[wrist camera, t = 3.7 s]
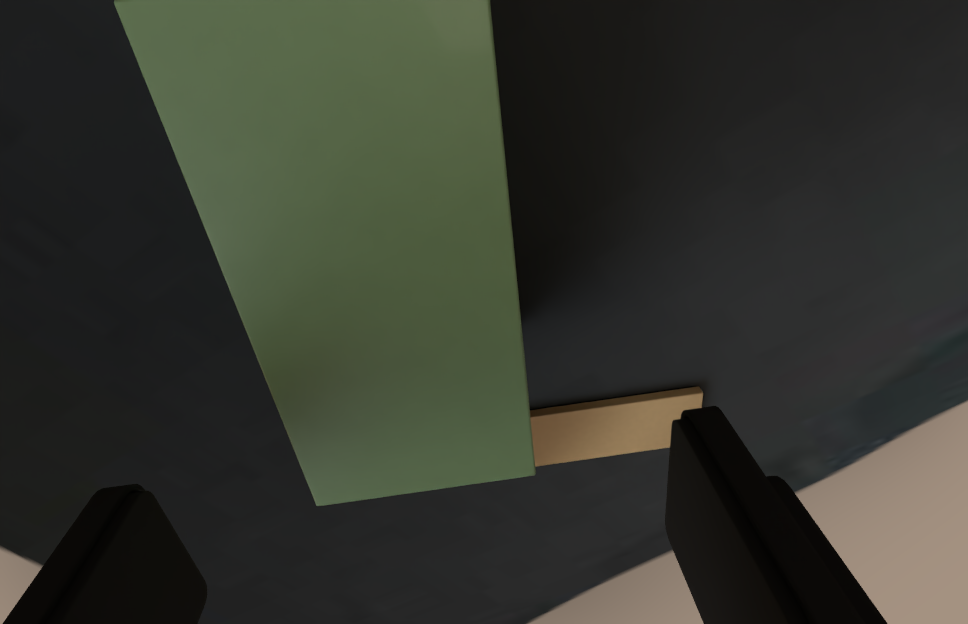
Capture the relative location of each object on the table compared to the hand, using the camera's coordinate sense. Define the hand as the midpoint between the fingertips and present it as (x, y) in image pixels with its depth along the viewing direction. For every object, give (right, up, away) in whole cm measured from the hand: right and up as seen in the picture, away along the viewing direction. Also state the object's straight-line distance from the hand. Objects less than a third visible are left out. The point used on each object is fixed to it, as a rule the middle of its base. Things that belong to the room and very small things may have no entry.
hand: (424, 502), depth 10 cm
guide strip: (+2, -1, +10) cm, 10 cm away
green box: (-1, +7, +5) cm, 8 cm away
